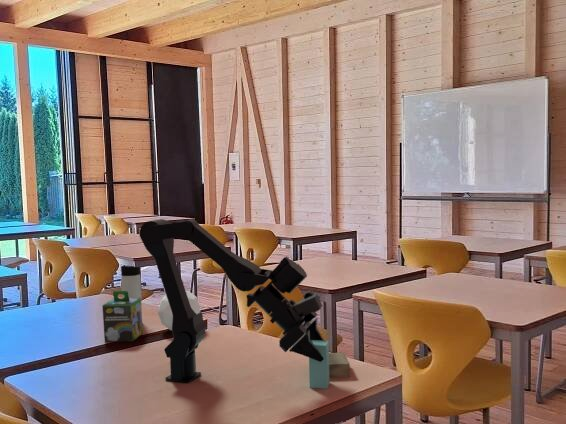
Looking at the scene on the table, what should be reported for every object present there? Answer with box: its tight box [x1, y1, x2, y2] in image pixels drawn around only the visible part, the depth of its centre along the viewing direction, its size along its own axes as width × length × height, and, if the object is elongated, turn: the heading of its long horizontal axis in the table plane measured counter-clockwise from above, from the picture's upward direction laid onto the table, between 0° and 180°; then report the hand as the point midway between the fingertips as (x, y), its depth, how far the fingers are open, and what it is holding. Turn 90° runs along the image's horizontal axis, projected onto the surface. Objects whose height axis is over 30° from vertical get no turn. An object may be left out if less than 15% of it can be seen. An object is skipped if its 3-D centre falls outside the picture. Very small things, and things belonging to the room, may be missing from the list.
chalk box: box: [102, 290, 144, 343], centre depth 180 cm, size 9×9×15 cm
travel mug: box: [120, 265, 143, 314], centre depth 197 cm, size 6×7×20 cm
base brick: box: [329, 352, 351, 378], centre depth 146 cm, size 9×9×4 cm
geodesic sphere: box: [157, 289, 201, 331], centre depth 187 cm, size 14×14×14 cm
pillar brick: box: [308, 339, 330, 390], centre depth 136 cm, size 4×4×10 cm
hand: (325, 355), depth 136 cm, fingers open, 7 cm apart
